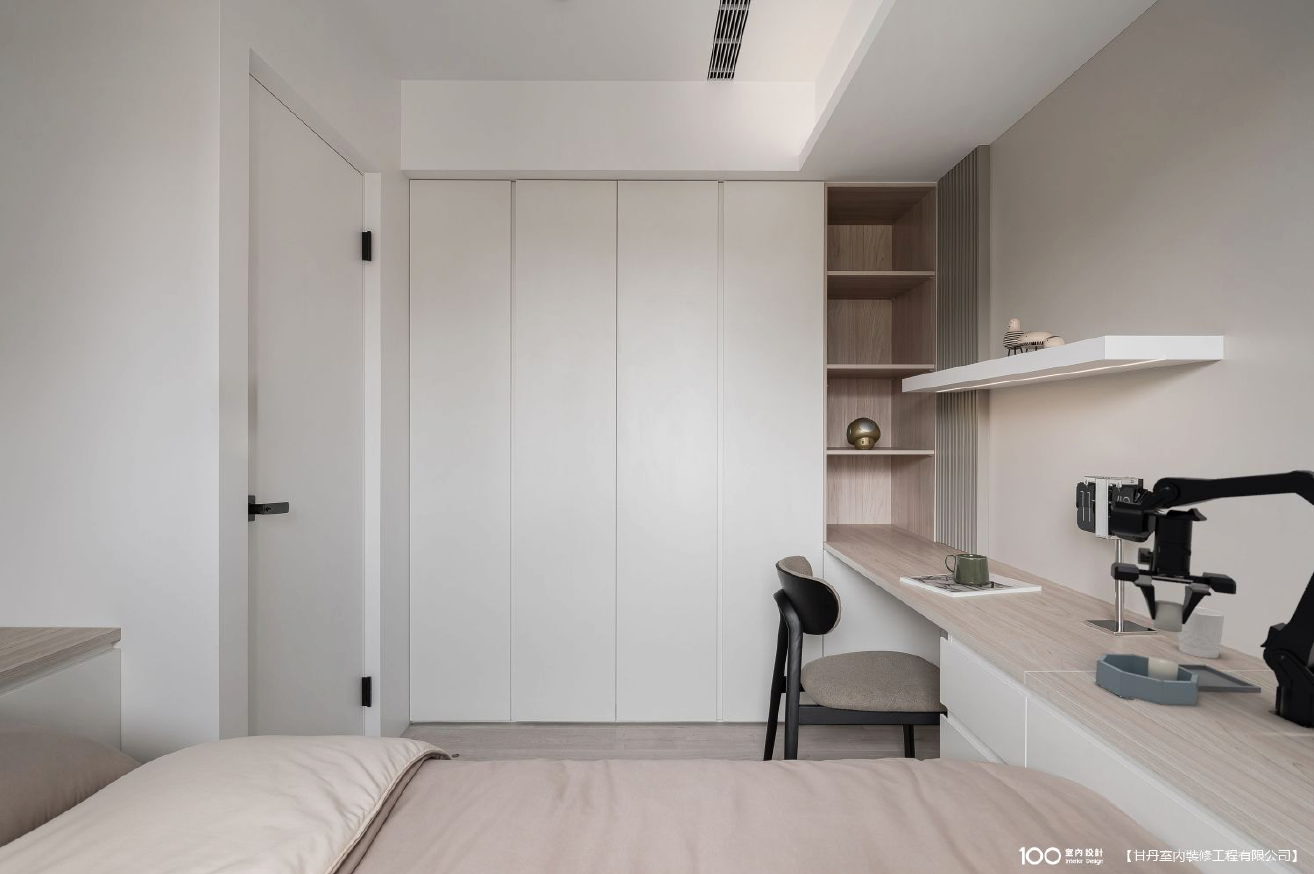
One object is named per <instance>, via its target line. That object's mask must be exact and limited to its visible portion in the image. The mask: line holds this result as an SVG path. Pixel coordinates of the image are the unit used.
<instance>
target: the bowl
mask: <svg viewBox="0 0 1314 874" xmlns="http://www.w3.org/2000/svg"><path fill="white" fill-rule="evenodd" d="M1148 661H1149V656H1148V657H1146V656H1142V655H1138V654H1133V653H1110V652H1109V653H1104V652H1102V654H1101V655H1100V656H1099V658H1098V659H1097V660H1096V670H1095V671H1096V674H1095V675H1096V676H1095V684H1096V683H1097V684H1098V685H1097V684H1096V685H1097V686H1099V685H1100V686H1099V687H1101V686H1103V687H1104V688H1106V689H1108V690H1110V691H1111V692H1110V691H1109V692H1110V693H1112V692H1113V693H1116V694H1117V695H1119V696H1121V697H1120V698H1122V697H1124V698H1123V699H1126V698H1127V700H1130V699H1131V700H1130V701H1134V700H1135V699H1139V700H1143V701H1147V702H1150V703H1154V704H1158V705H1164V706H1165V705H1168V706H1171V705H1172V706H1173V705H1174V706H1196V703H1197V702H1196V701H1197V698H1198V695H1199V694H1198V693H1199V691H1198V680H1199V674H1196V673H1194V672H1192V671H1189V670H1187V669H1185V668H1182V667H1180V666H1178V678H1177V681H1168V680H1158V679H1153V678H1149V677H1148ZM1103 687H1102V688H1103ZM1104 688H1103V689H1104ZM1106 689H1105V690H1106ZM1108 690H1107V691H1108ZM1113 693H1112V694H1113ZM1117 695H1116V696H1117ZM1119 696H1118V697H1119Z"/></svg>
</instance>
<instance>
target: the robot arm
mask: <svg viewBox="0 0 1314 874" xmlns="http://www.w3.org/2000/svg"><path fill="white" fill-rule="evenodd" d="M1282 494H1283V495H1284V494H1296V495H1297V496H1300V497H1302V498H1301V499H1304V500H1305V501H1307V502H1308V503H1309V504H1310V505H1312V506H1314V471H1312V470H1310V469H1309V470H1305V469H1302V470H1301V469H1300V470H1299V469H1297V470H1292V471H1289V472H1279V473H1268V474H1256V475H1245V476H1236V477H1235V476H1232V477H1223V478H1222V477H1221V478H1202V477H1201V478H1200V477H1188V476H1187V477H1185V476H1184V477H1183V476H1182V477H1180V476H1170V477H1169V476H1167V477H1166V476H1165V477H1162V478H1159V479H1157V481H1156V482H1155V483H1154V484H1153V487H1152V492H1151V493H1150V494H1149V495H1148V496H1146V498H1144V500H1143V501H1142V502H1141V503H1137V502H1136V503H1135V502H1129V501H1127V500H1115V502H1114V507H1113V508H1112V510H1111V512H1110V515H1109V516H1108V528H1109V530H1110V532H1111V533H1113V534H1116V535H1117V534H1118V535H1125V536H1132V537H1138V538H1147V537H1148V536H1150V534H1153V533H1154V536H1153V537H1154V541H1153V550H1152V551H1151V548H1148V547H1138V548H1137V550H1138V551H1137V564H1138V565H1144V566H1148V569H1142V568H1139V566H1137V565H1136V564H1135V563H1134V564H1133V563H1128V562H1126V563H1125V562H1116V561H1114V562H1113V563H1111V565H1110V576H1111V577H1112V579H1113V580H1114V581H1115V580H1116V581H1121V582H1122V581H1123V582H1130V583H1132V584H1133V586H1134V587H1137V588H1139V589H1140V591H1141V594H1142V595H1143V598H1144V600H1145V603H1146V606H1147V610H1148V614H1149V615H1150V616H1149V617H1150V620H1152V621H1154V620H1155V601H1156V591H1155V586H1154V585H1153V584H1152V582H1153V581H1157V582H1168V583H1175V584H1183V585H1184V599H1183V603H1182V605H1183V619H1182V624H1185V623H1186V622H1187V620H1188V618H1189V617H1190V615H1191V614H1192V612H1193V610H1194V609H1195V607H1198V605H1199V603H1200V602H1201V601H1202V600H1203V599H1204V597H1206V596H1207V597H1212V593H1211V592H1210V590H1212V591H1213V592H1215V593H1218V594H1219V593H1220V594H1225V595H1226V594H1228V595H1236V594H1237V582H1236V580H1234V579H1233V578H1232V577H1230V576H1229V575H1227V574H1224V573H1217V572H1216V573H1214V572H1206V571H1205V572H1204V571H1203V572H1202V575H1195V574H1191V556H1192V539H1193V524H1194V523H1193V522H1206V521H1208V517H1206V516H1205V515H1203V514H1202V513H1201V511H1199V509H1198V508H1196V507H1193V508H1192V507H1191V506H1193V505H1199V504H1202V503H1208V502H1211V501H1214V500H1219V499H1226V498H1239V497H1240V498H1242V497H1256V496H1269V495H1270V496H1271V495H1282ZM1189 506H1190V507H1191V508H1189V509H1188V510H1181V509H1172V508H1175V507H1176V508H1179V507H1180V508H1181V507H1189ZM1158 510H1159V511H1161V510H1168V511H1167V512H1166V513H1161V512H1155V511H1158ZM1259 647H1260V648H1262V649H1263V648H1264V649H1263V652H1262V659H1263V660H1264V662H1265V663H1266V665H1267V666H1268V667H1269V669H1270V670H1271V671H1272V672H1273V673H1274V676H1275V678H1276V681H1277V684H1278V686H1276V689H1275V690H1276V692H1275V704H1274V705H1275V707H1274V708H1275V709H1274V710H1268V711H1267V712H1268V713H1271V714H1273V715H1275V716H1277V717H1280V718H1282V719H1284V720H1285V721H1286V720H1287V721H1288V722H1291V723H1293V724H1295V725H1297V726H1300V727H1302V728H1306V729H1314V571H1313V572H1312V574H1311V577H1310V578H1309V581H1308V583H1307V585H1306V587H1305V589H1304V591H1303V593H1302V595H1301V597H1300V599H1299V601H1298V604H1297V605H1296V608H1295V609H1294V611H1293V614H1292V616H1291V619H1290V620H1288V622H1287V623H1285V622H1280V623H1276V624H1273V625H1270V626H1269V628H1268V631H1267V637H1266V639H1265V641H1264V642H1263V643H1262V644H1260V645H1259Z"/></svg>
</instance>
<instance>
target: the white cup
mask: <svg viewBox="0 0 1314 874" xmlns="http://www.w3.org/2000/svg"><path fill="white" fill-rule="evenodd" d="M1224 619H1225V613H1223V612H1221V611H1219V610H1215V609H1211V608H1207V607H1200V606H1196V607H1195V609H1194V610H1193V612H1192V614H1191V615H1190V617H1189V618H1188V620H1187V622H1186V623H1185V624H1182V632H1177V635H1178V636H1177V639H1178V650H1179V651H1181V652H1182V653H1184V654H1188V655H1191V656H1193V657H1194V656H1195V657H1200V658H1206V659H1217V658H1219V653H1220V647H1221V642H1222V637H1223V636H1222V635H1223V627H1224V621H1225V620H1224Z"/></svg>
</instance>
